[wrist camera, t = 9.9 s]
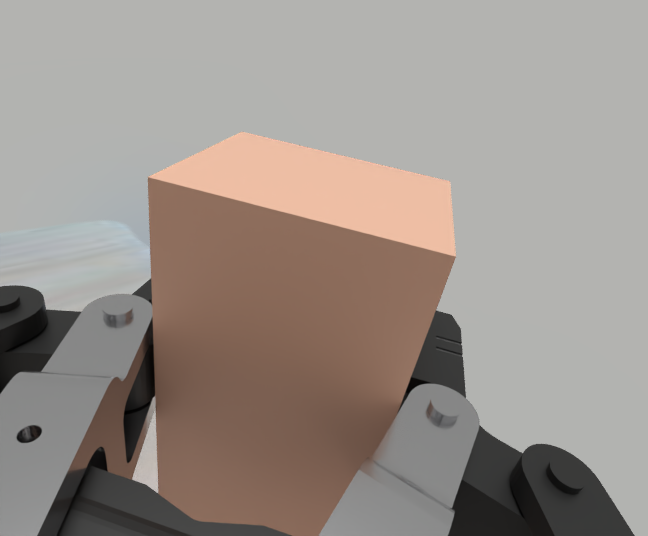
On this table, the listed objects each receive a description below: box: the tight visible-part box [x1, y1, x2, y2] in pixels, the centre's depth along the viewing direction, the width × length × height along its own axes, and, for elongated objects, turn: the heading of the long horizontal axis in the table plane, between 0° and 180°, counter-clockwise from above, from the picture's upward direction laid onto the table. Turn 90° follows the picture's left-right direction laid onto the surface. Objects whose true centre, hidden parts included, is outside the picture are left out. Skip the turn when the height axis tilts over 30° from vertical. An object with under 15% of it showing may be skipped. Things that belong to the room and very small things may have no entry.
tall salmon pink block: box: [148, 132, 456, 536], centre depth 10 cm, size 4×4×10 cm
